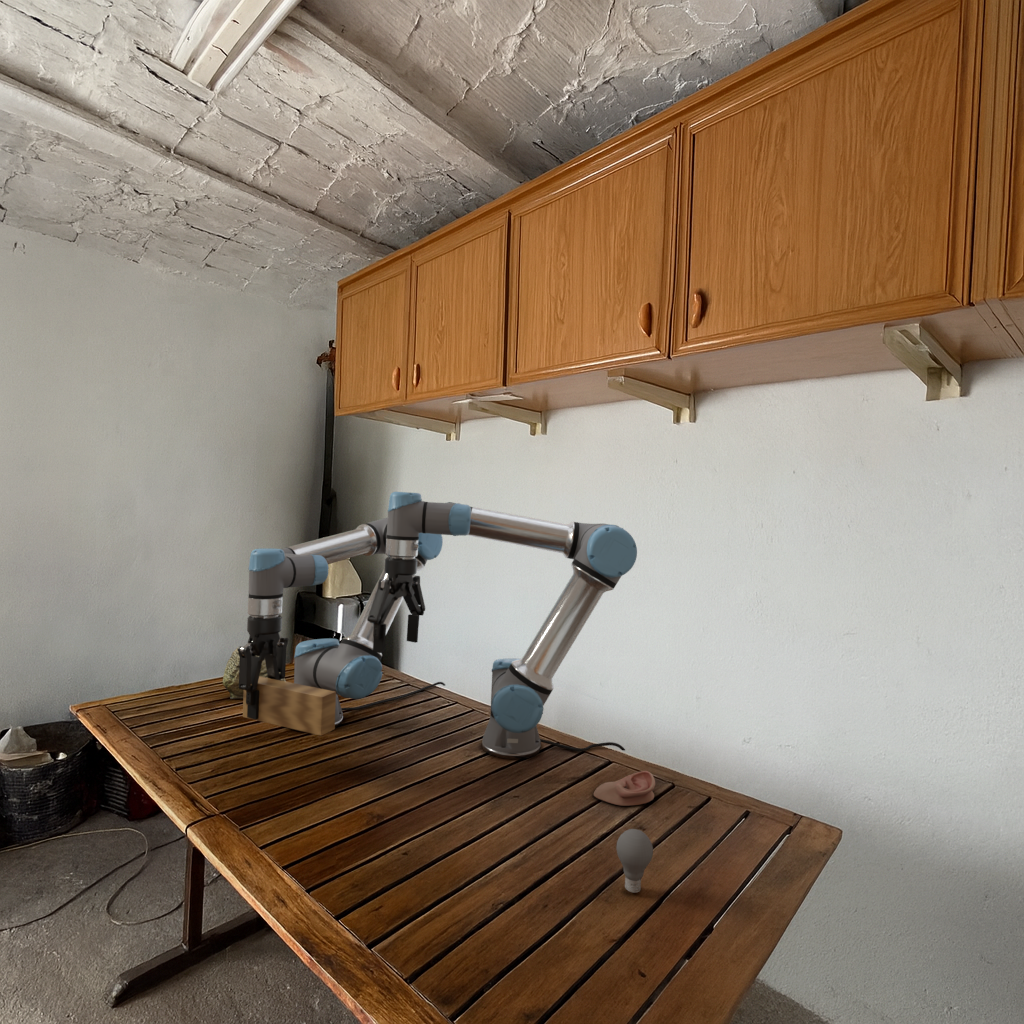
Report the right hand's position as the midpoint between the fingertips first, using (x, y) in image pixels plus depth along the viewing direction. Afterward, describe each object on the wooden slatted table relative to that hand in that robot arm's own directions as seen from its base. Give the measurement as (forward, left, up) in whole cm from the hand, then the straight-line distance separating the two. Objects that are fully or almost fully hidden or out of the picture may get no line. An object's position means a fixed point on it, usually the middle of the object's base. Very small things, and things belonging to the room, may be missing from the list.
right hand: (396, 646), depth 150 cm
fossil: (+24, -66, -29) cm, 76 cm away
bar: (+23, -6, -17) cm, 29 cm away
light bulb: (-23, +62, -29) cm, 72 cm away
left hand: (+28, -12, -17) cm, 35 cm away
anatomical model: (-43, +33, -29) cm, 62 cm away
